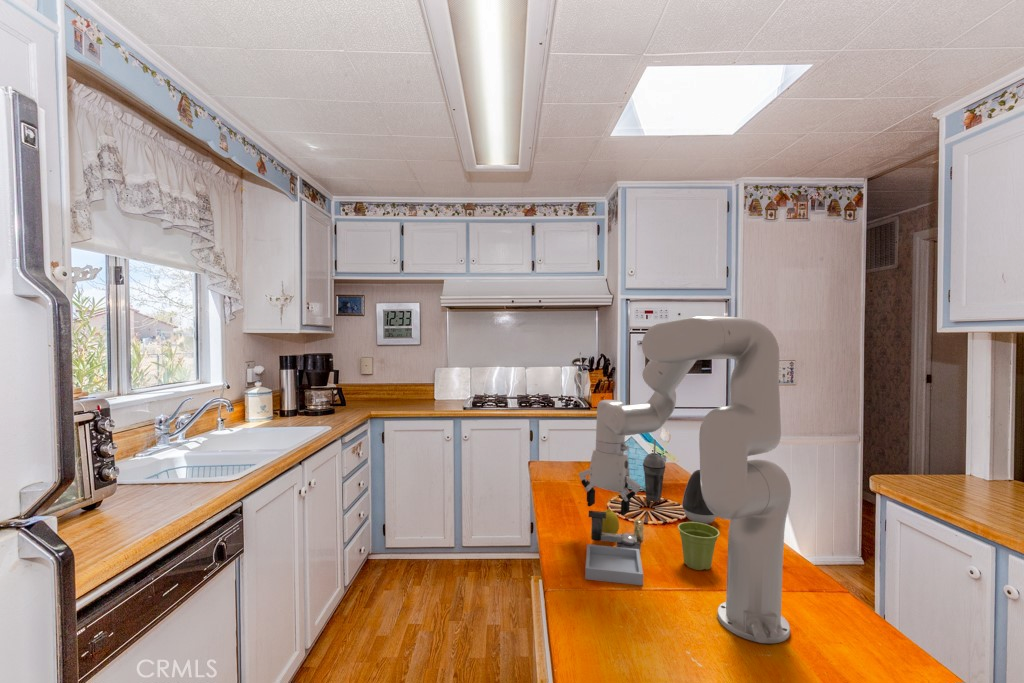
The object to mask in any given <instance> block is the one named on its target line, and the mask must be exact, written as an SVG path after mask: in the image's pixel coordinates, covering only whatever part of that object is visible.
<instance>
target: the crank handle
mask: <svg viewBox="0 0 1024 683" xmlns="http://www.w3.org/2000/svg"><path fill="white" fill-rule="evenodd" d="M588 518H591V530H590V532H591V534H590V538H591V540H592V541H593V542H601V541H602V542H611V543H617V542H621V543H623V544H626V545H635V544H636V543H637V536H636V535H634V533H630V532H624V533H621V534H620V533H617V534H613V533H602V529H603V518H604V519H606V512H603V511H599V510H597V511H596V510H588Z"/></svg>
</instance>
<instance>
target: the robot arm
mask: <svg viewBox="0 0 1024 683" xmlns="http://www.w3.org/2000/svg"><path fill="white" fill-rule="evenodd" d="M641 350H642V354H643V355H644V356H645V357H646V359H648V360H649V361H648V362H647V364H646V365H645V367H644V368H643V370H642V379H643V381H644V382H645V384H646V385H647V386H648V388H650V389H651V390H653V391H654V392H653V394H652V395H651V396H650V397H649V399H648V401H647V402H644V403H635V404H625V403H624V402H623V401H620V400H617V399H602V400H600V401H599V402H598V403H597V408H596V426H595V427H596V428H595V429H596V431H595V448H593V450H592V455H591V458H590V465H589V468H588V469H586V470H583V471H580V472H578V476H579V479H580V480H581V481H580V482H581V484H582V486H583V487H584V490H585V492H586V502H587V505H586V506H587V507H592V506H593V505H594V504H595V503H596V490H595V489H594V488H598V489H603V490H606V491H610V492H614V493H619V495H620V496H621V498H622V500H621V504H620V515H621V517H622V516H625V515H627V514H628V513H629V511H630V503H631V499H632V498H633V497H635V496H636V495H637V493H638V492H639V491H640V489H641V485H640V484H639V483H638V482H637V481H636V480H634V479H633V478H632V477H630V476H631V475H630V463H629V458H628V457H629V456H628V453H627V452H626V451H630V446H629V445H627V444H626V441H625V440H626V438H625V437H626V436H634V435H639V434H640V435H641V434H650V433H654V432H656V431H658V430H659V429H661V427H662V426H664V424H665V423H667V421H668V419H670V417H671V415H672V414H673V412H674V411H675V407H676V403H677V402H676V401H677V393H676V389H677V387H678V386H680V383H681V382H682V381H683V379H684V378H685V377H686V376H687V374H688V373H689V372H690V371H691V369H692V368H693V366H694V364H695V363H696V362H697V361H701V360H707V361H708V360H727V359H728V360H729V359H730V360H731V359H732V360H735V361H736V364H735V366H734V368H733V370H732V373H731V375H730V376H731V377H730V382H729V389H730V390H729V392H730V395H729V396H730V399H729V400H730V401H729V405H725V406H718V407H715V408H713V409H711V411H709V412H707V414H706V415H705V416H704V418H703V420H702V422H701V424H700V429H699V435H698V436H699V437H698V440H699V441H698V442H699V443H698V444H699V447H698V448H699V470H700V482H701V491H702V496H703V499H704V501H705V504H706V505H707V507H708V509H709V510H710V511H711V512H712V513H713V514H714V515H716V516H717V517H718V518H720V519H723V520H728V521H729V525H728V536H727V537H728V539H727V560H726V561H727V567H726V592H725V594H726V595H725V598H726V599H725V601H724V602H722V603H720V604H719V606H718V607H717V613H716V614H717V615H716V616H717V619H718V621H719V622H720V624H721V625H722V626H723V627H724V628H725V629H727V630H728V631H729V632H731V633H732V634H734V635H736V636H738V637H740V638H742V639H745V640H748V641H751V642H755V643H759V644H767V645H768V644H777V643H778V644H779V643H781V642H785V641H787V639H789V637H790V636H791V626H790V623H789V622H788V620H787V619H786V618H785V617H784V616H783V615H782V597H783V596H782V595H783V567H784V566H783V565H784V563H783V562H784V548H785V546H784V545H785V544H784V543H785V529H786V521H787V516H788V512H789V507H790V505H791V504H790V503H791V497H792V486H791V483H790V480H789V477H788V475H787V473H786V472H785V470H784V469H782V467H780V466H779V465H778V464H776V463H774V462H773V461H771V460H770V461H769V460H766V459H750V460H748V457H750V456H755V455H760V454H765V453H769V452H772V451H773V450H775V449H776V448H777V447H778V445H779V444H780V440H781V435H782V424H781V422H782V421H781V401H780V380H779V379H780V348H779V343H778V341H777V338H776V337H775V335H774V333H773V332H772V331H771V330H770V329H769V328H768V327H767V326H765V325H764V324H762V323H760V322H758V321H756V320H753V319H750V318H747V317H746V318H745V317H739V316H738V317H737V316H736V317H735V316H711V315H710V316H705V315H703V316H702V315H701V316H692V317H687V318H681V319H676V320H671V321H666V322H660V323H657V324H653V325H652V326H651V327H650V328H649V329H647V330H646V332H645V333H644V335H643V337H642V341H641ZM587 475H588V479H587ZM630 487H631V488H632V489H631V491H629V489H628V488H630ZM717 517H716V518H717Z"/></svg>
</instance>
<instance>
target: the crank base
mask: <svg viewBox="0 0 1024 683" xmlns="http://www.w3.org/2000/svg"><path fill="white" fill-rule="evenodd" d="M633 522H634V523H633V524H634V525H633V534H634V535H636V536H637V543H636V544H635V545H626V544H623V543H621V542H616V545H615V547H622V548H633V549H639V551H640V554H641V551H642V550H641V549H642V548H641V547H642V543H641V542H643V541H644V520H642V519H639V518H637V519H634V521H633ZM639 541H640V542H639Z"/></svg>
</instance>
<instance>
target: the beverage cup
mask: <svg viewBox="0 0 1024 683" xmlns="http://www.w3.org/2000/svg"><path fill="white" fill-rule="evenodd" d="M656 446H657V445H656V439H653V452H651V453H648V454H647V455H646V456H645V457H644V459H643V463H642V467H643V472H644V488H645V489H644V490H645V499H647V500H649V501H653V502H657V501H660V502H661V499H662V491H663V484H664V476H665V475H664V474H665V471H666V461H665V459H664V458H663V456H661V455H660V454H659V453H656ZM647 500H646V501H647ZM649 501H648V502H649ZM653 502H652V503H653Z"/></svg>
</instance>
